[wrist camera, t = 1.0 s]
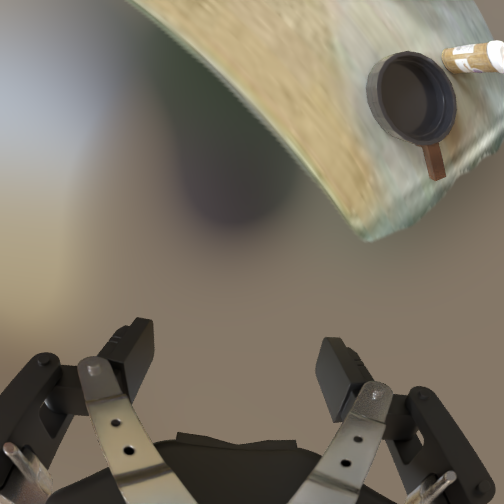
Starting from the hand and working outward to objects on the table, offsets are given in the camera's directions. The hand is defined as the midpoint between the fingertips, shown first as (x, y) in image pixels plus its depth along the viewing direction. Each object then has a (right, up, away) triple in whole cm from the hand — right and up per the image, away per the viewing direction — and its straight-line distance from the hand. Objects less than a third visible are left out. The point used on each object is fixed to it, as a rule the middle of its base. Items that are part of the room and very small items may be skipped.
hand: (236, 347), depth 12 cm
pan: (+23, +26, +18) cm, 39 cm away
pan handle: (+27, +19, +21) cm, 39 cm away
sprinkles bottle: (+32, +34, +13) cm, 48 cm away
